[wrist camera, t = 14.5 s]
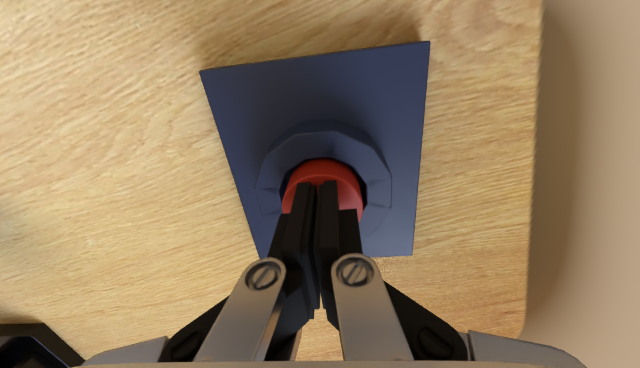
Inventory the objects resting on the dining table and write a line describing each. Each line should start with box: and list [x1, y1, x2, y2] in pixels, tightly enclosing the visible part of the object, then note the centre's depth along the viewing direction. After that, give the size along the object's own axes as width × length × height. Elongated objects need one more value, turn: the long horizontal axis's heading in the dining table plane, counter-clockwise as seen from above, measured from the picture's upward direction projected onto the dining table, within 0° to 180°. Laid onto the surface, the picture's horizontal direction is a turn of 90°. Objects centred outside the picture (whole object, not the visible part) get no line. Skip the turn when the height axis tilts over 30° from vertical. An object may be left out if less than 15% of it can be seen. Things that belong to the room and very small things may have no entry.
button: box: [282, 158, 363, 222], centre depth 12 cm, size 4×4×2 cm
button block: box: [199, 41, 430, 259], centre depth 13 cm, size 12×10×3 cm
